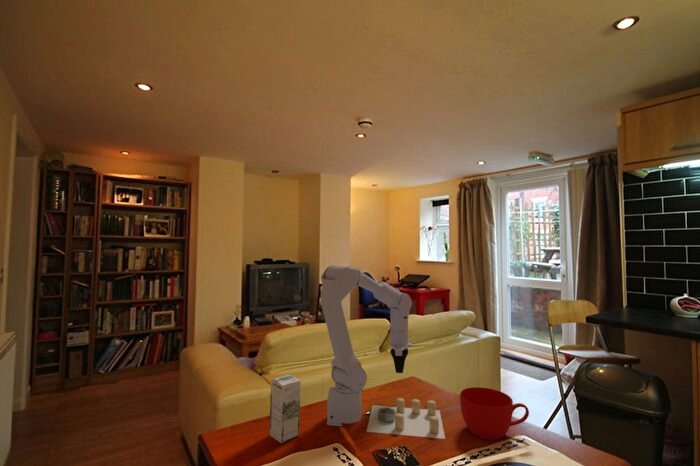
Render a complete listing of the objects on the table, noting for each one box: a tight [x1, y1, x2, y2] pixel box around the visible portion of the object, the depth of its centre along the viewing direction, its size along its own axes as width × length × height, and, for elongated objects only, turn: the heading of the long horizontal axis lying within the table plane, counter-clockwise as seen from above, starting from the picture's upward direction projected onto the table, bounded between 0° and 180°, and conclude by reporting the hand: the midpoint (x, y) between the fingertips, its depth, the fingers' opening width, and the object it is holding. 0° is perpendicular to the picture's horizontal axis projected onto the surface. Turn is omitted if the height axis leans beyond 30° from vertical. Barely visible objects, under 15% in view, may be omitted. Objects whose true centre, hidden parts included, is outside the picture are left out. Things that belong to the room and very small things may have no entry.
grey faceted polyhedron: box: [378, 408, 395, 423], centre depth 97 cm, size 5×4×2 cm
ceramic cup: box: [459, 386, 530, 441], centre depth 90 cm, size 13×17×10 cm
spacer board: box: [366, 397, 446, 440], centre depth 96 cm, size 20×16×4 cm
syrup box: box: [268, 374, 302, 444], centre depth 90 cm, size 6×6×14 cm
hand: (399, 372), depth 111 cm, fingers closed
